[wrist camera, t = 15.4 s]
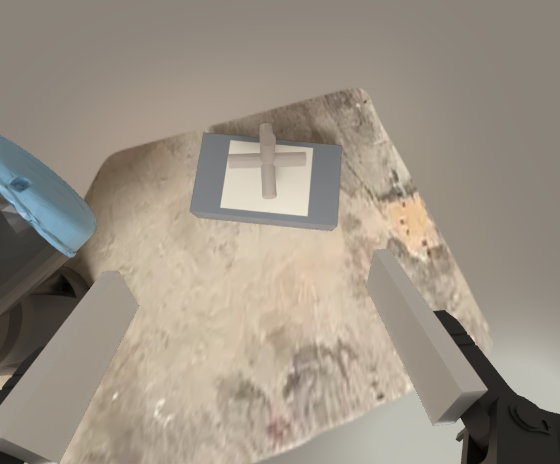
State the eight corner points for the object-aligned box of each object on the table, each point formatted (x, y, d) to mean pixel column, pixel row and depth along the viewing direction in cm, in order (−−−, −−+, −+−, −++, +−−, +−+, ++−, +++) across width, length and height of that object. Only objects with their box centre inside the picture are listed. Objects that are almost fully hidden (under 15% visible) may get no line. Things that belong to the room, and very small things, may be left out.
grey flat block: (198, 217, 40) (189, 210, 35) (210, 146, 42) (203, 131, 38) (331, 231, 39) (337, 225, 35) (336, 158, 42) (342, 144, 38)
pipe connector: (233, 147, 37) (221, 100, 27) (297, 146, 38) (308, 99, 28) (235, 210, 35) (222, 182, 25) (302, 207, 36) (316, 179, 26)
